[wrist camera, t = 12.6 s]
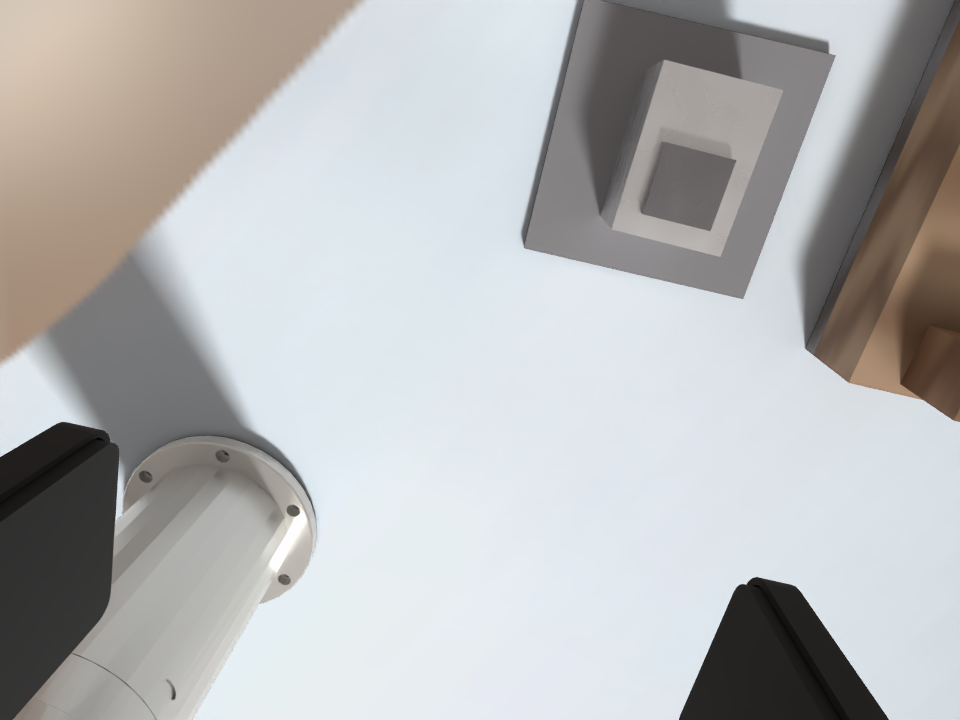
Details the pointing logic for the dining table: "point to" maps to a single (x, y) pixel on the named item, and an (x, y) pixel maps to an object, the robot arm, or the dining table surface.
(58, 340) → the dining table surface
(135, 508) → the robot arm
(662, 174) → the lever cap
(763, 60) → the rubber mat
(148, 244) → the dining table surface
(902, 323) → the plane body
